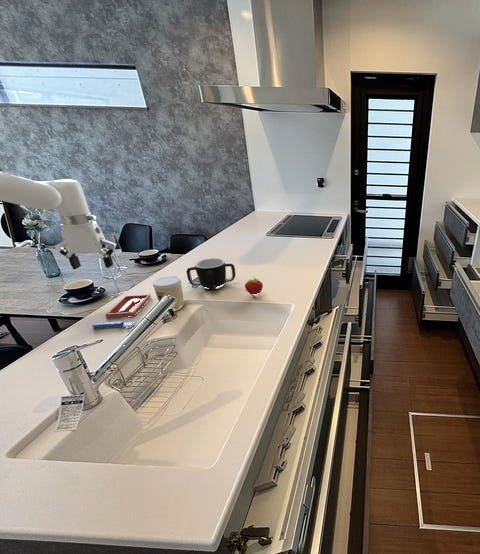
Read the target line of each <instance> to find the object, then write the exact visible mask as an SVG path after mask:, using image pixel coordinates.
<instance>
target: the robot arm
mask: <svg viewBox="0 0 480 554" xmlns="http://www.w3.org/2000/svg"><path fill="white" fill-rule="evenodd" d="M0 201H1V202H6V203H10V204H14V205H18V206H23V207H29V208H32V209H37V210H42V211H51V210H55V209H56V210H57V213H58V216H59V219H60V221H61V224H60V232H61V237H62V241H61V242H59V243H57V244H55V245H54V248H55V249H56V250H57V251H58V252H59V254H61V255H62V256H64V257H65V258H66V259H68V261H69V264H70V266H71V267H72V269H73V270H77V269H78V268H80V267H82V264H81V261H80V258H79V255H76V254H94V253H95V254H96V253H99V254H100V255H101V256H103V257H102V260H103V263H104V266H105V268H106V269H109V268H111V267H113V266H114V262H113V261H114V260H113V258H112V254H113V253H115V251H116V247H117V243H116V242H112V241H111V240H107V239H106V238H105V235H104V233H103V231H102V229H101V227H100V225H99V224H98V223H97V221H95V220H97V216H96V215H92V212H91V211H90V207H89V205H88V201H87V198H86V196H85V192H84V189H83V187H82V185H81V182H79V181H77V180H75V179H55V180H50V181H48V180H47V181H45V180H41V181H40V180H39V181H38V180H32V179H29V178H25V177H23V176H22V177H21V176H18V175H14V174H12V173H7V172H5V171H2V170H1V171H0ZM108 248H109V249H108Z"/></svg>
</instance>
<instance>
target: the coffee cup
mask: <svg viewBox="0 0 480 554" xmlns="http://www.w3.org/2000/svg"><path fill="white" fill-rule="evenodd" d="M152 287H153V289H154V292H155V295H156V298H157V301H158V302H159V301H160V300H161V299H162V298H163V297H164V296H165V295H171V296H173V297H175V298H176V299H177V303H176V304H175V306H174V307H173V308H174V309H178V308H179V307H180V306H182V305H183V302H184V303H185V301H184V300H185V299H184V294H183V287H182V280H181V278H180V277H178V276H164V277H160V278H158V279H155V280H154V281H153V283H152ZM181 310H182V309H180V310H179V311H181Z"/></svg>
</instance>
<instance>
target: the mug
mask: <svg viewBox="0 0 480 554" xmlns="http://www.w3.org/2000/svg"><path fill="white" fill-rule="evenodd" d="M228 267H230V268H231V277H230V278H227V269H226V268H228ZM191 271H195V273H196V276H197V278H198V281H197V282H196V281H195V280H193V278H192V274H191V273H192V272H191ZM186 276H187V280H188V282H189V283H190V284H191V285H192V286H196V287H197V286H201V287H202V286H203V287H207V288H209V289H210V290H209V291H215V290H214V289H215V288H216V287H217V286H220V285H222V284H224V283H225V284H226V283H229V281H230V282H233V281H234V280H235V278H236V267H235V265H234V264H233V263H226V261H225V260H224V259H222V258H205V259H202V260H199V261H197V262H195V264H194V266H192V267H188V268H187V269H186ZM203 287H202V288H203Z"/></svg>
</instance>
